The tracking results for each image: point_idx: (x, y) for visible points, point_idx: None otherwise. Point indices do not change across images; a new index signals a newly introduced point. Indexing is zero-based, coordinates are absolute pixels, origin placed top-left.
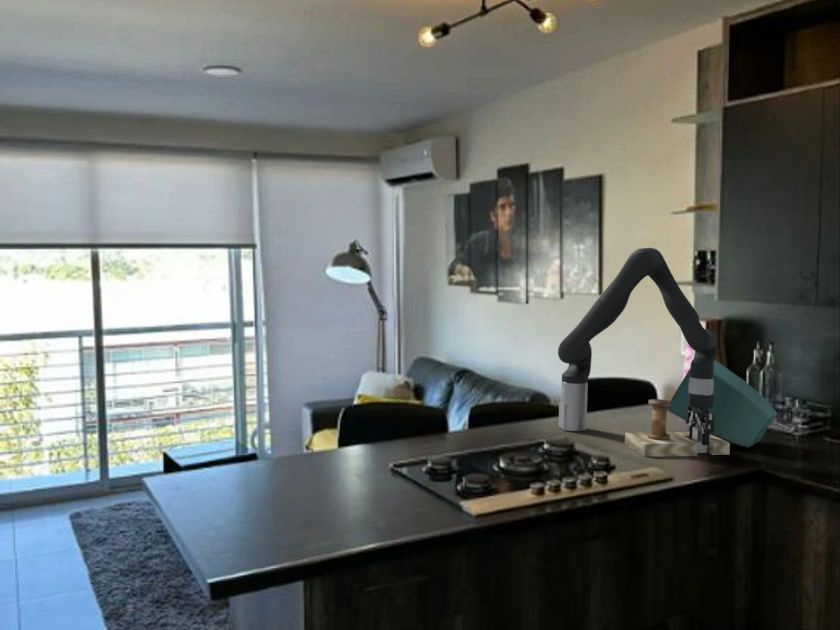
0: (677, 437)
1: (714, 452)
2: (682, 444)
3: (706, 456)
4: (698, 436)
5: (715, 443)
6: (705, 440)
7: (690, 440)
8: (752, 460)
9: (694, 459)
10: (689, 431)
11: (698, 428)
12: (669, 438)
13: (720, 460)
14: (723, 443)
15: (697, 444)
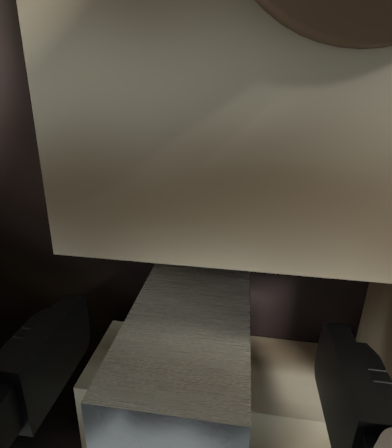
0: (347, 185)
1: (103, 339)
2: (35, 83)
3: (97, 270)
4: (121, 339)
5: (76, 395)
6: (20, 332)
7: (182, 255)
8: (29, 440)
9: (5, 140)
10: (362, 375)
11: (125, 433)
12: (262, 4)
13: (5, 297)
14: (83, 444)
15: (145, 283)
